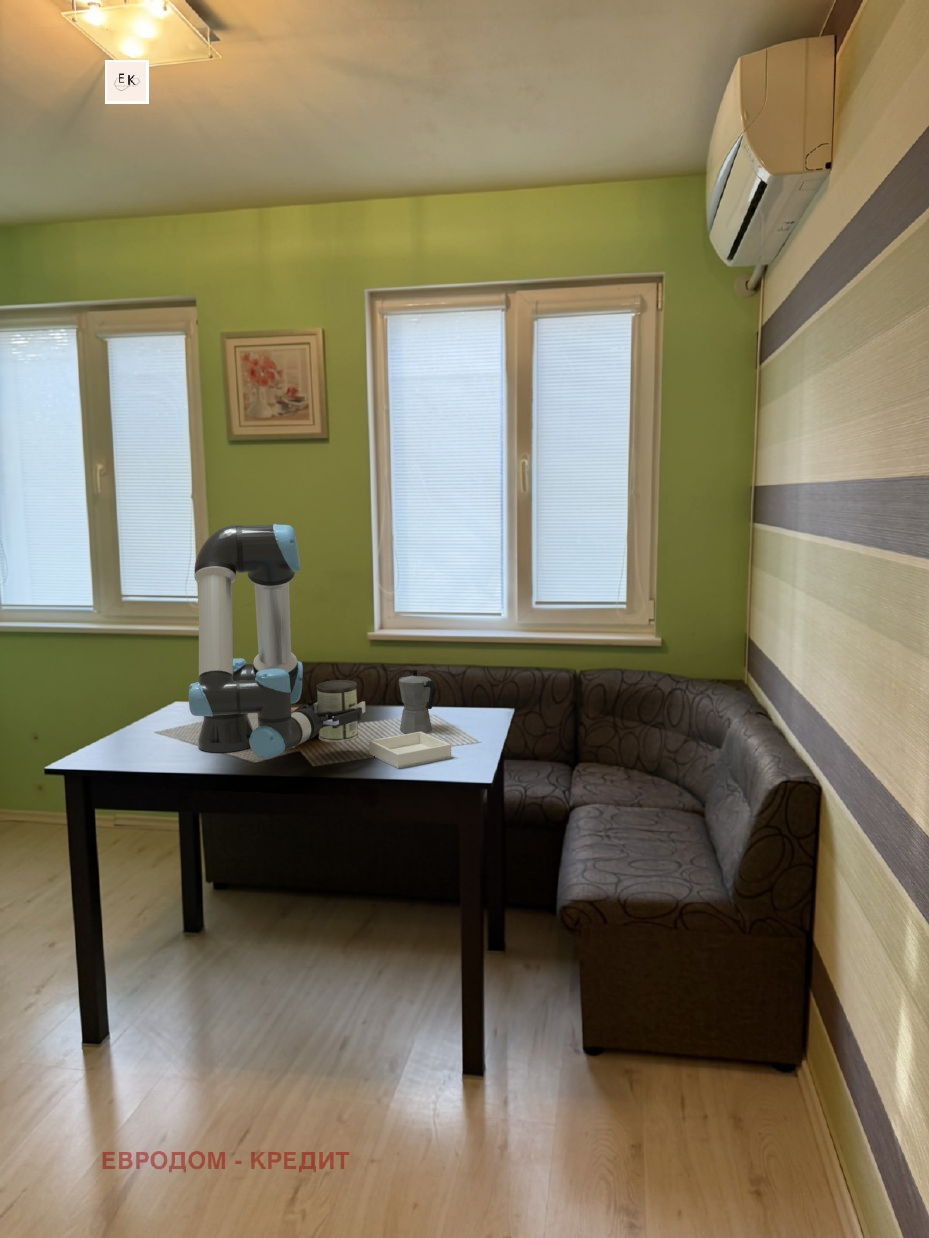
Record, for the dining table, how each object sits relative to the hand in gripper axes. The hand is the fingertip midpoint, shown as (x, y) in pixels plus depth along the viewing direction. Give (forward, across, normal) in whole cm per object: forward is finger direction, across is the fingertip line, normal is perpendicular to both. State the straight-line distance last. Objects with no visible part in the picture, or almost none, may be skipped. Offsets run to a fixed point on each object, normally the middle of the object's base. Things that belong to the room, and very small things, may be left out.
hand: (346, 704), depth 224 cm
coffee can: (-4, 0, -8) cm, 9 cm away
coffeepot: (+25, +9, -13) cm, 29 cm away
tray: (+2, +18, -12) cm, 22 cm away
